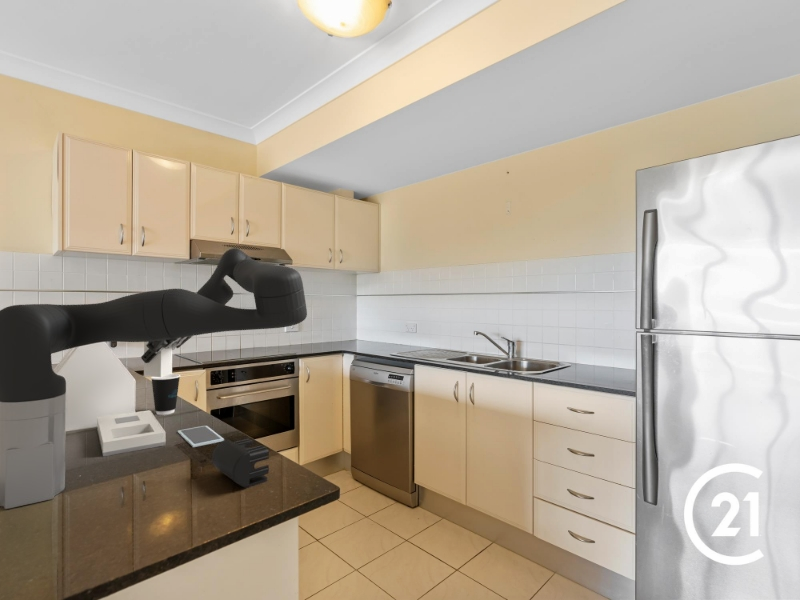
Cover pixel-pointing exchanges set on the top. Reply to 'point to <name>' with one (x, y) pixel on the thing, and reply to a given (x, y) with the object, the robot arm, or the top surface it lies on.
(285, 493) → the top surface
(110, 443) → the outlet strip
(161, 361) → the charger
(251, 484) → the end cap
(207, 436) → the phone
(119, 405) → the milk carton
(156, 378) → the dixie cup
